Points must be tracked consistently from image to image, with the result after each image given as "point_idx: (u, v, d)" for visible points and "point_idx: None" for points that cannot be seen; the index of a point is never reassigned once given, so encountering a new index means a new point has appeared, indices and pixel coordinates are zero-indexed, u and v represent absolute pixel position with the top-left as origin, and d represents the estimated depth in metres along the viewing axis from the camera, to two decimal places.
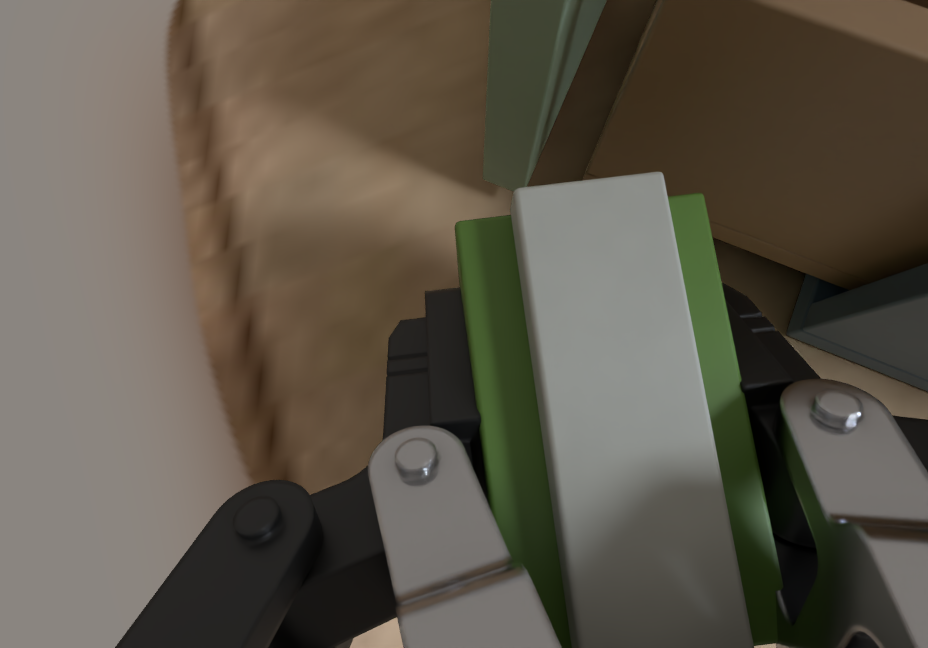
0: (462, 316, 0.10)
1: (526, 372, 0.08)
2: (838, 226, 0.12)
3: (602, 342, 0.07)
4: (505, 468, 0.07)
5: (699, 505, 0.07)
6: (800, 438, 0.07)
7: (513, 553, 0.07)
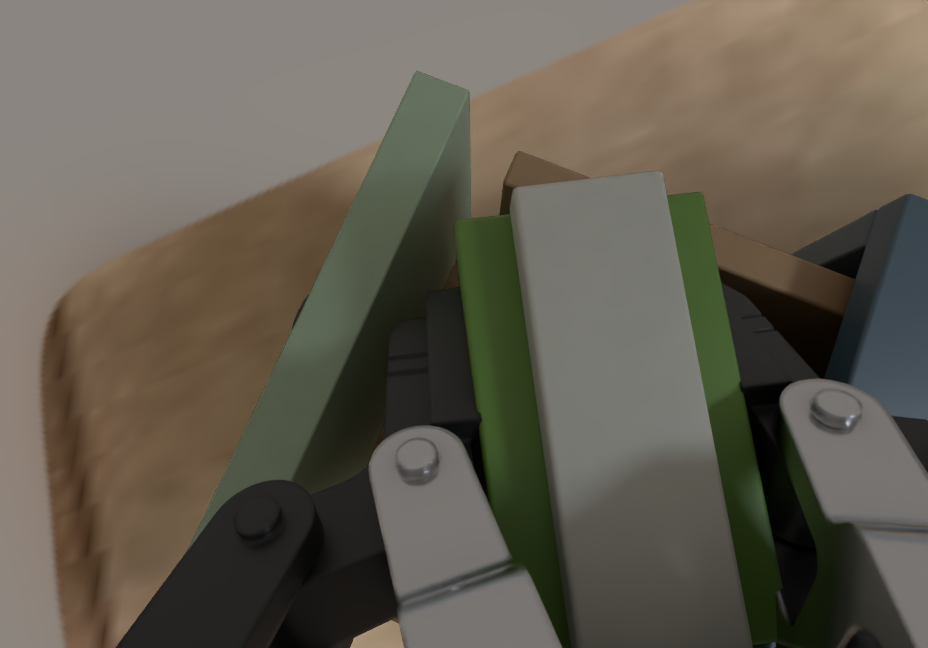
0: (462, 316, 0.10)
1: (525, 372, 0.08)
2: None
3: (601, 341, 0.07)
4: (503, 468, 0.07)
5: (698, 504, 0.07)
6: (800, 438, 0.07)
7: (511, 552, 0.07)
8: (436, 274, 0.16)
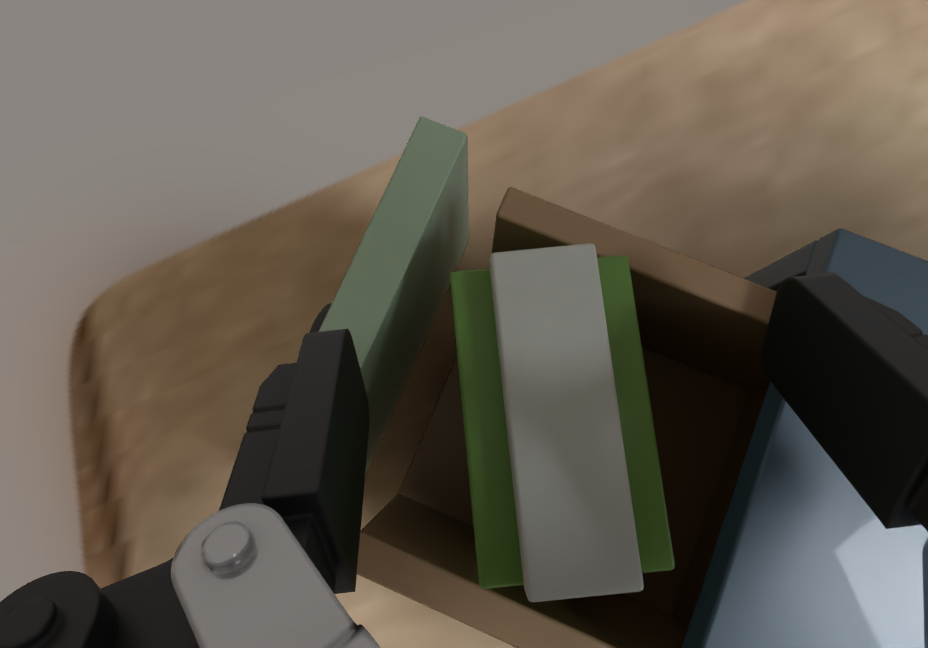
0: (334, 364, 0.09)
1: (497, 381, 0.11)
2: None
3: (547, 362, 0.10)
4: (479, 447, 0.11)
5: (608, 474, 0.10)
6: None
7: (483, 506, 0.11)
8: (436, 289, 0.18)
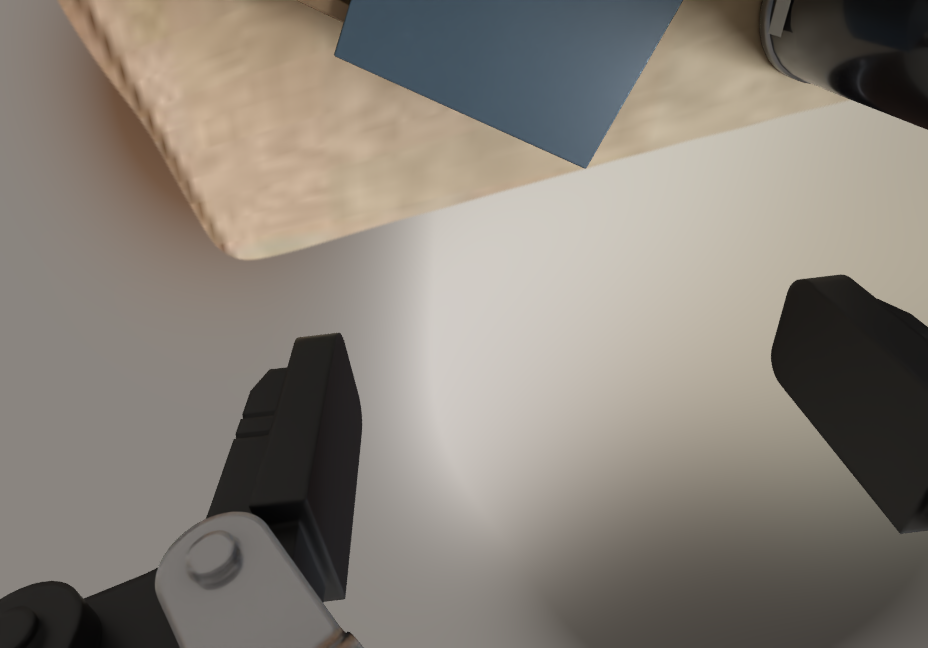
0: (325, 369, 0.09)
1: None
2: None
3: None
4: None
5: None
6: None
7: None
8: None
